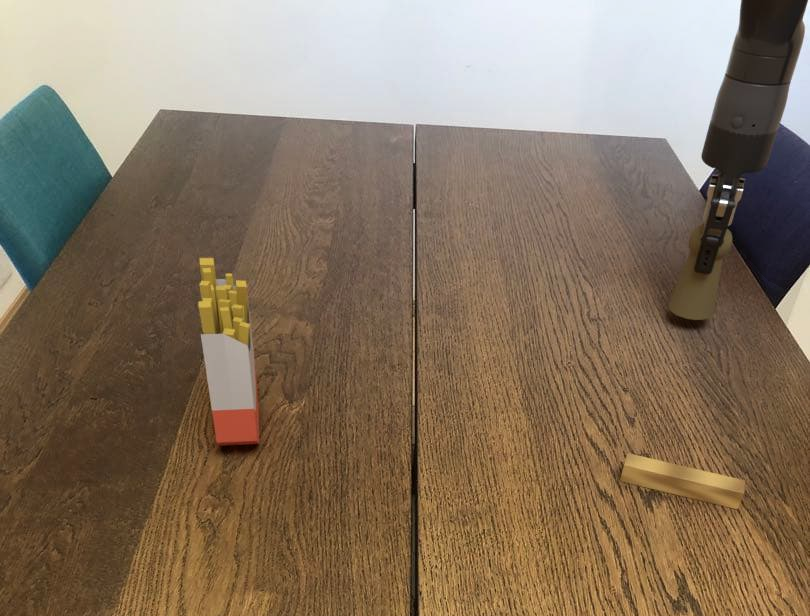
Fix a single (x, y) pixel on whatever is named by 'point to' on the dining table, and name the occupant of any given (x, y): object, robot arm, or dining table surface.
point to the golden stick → (683, 481)
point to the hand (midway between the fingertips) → (704, 262)
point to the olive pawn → (698, 280)
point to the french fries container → (229, 357)
